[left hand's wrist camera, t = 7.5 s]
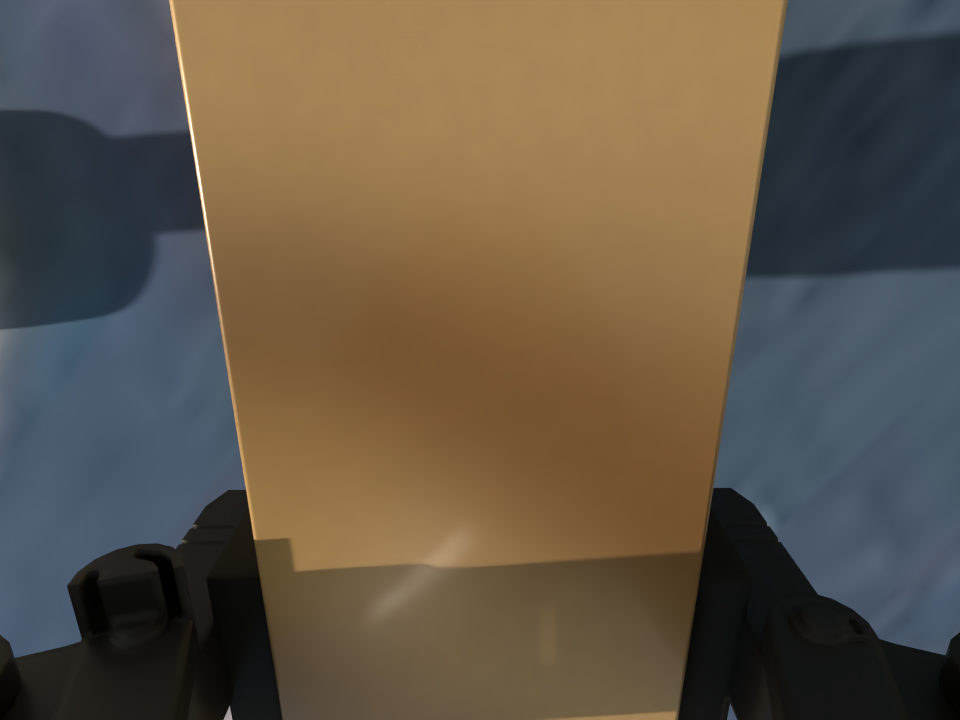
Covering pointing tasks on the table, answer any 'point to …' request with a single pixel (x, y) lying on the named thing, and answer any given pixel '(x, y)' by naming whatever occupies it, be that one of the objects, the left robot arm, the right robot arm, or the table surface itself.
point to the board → (479, 333)
